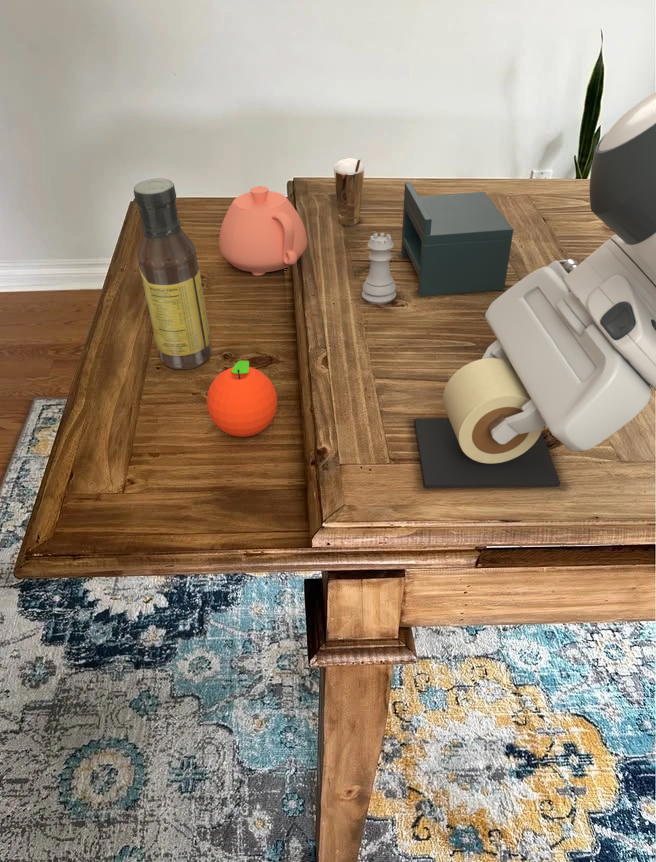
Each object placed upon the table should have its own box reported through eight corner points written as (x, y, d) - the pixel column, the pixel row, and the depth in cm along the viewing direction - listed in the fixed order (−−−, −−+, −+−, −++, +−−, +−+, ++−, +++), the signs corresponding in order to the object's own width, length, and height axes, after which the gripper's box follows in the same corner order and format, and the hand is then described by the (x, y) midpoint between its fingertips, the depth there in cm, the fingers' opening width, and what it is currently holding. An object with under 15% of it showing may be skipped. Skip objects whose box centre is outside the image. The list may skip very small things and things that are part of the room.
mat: (535, 420, 73) (536, 416, 73) (559, 486, 65) (560, 482, 65) (414, 422, 74) (414, 418, 73) (424, 488, 66) (424, 484, 66)
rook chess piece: (369, 287, 96) (370, 227, 91) (401, 292, 95) (404, 232, 89) (356, 302, 93) (356, 241, 88) (389, 308, 92) (391, 246, 86)
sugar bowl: (278, 236, 110) (273, 166, 103) (332, 268, 101) (331, 194, 94) (206, 258, 105) (196, 186, 98) (256, 294, 96) (249, 217, 89)
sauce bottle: (182, 338, 88) (153, 168, 75) (223, 351, 85) (201, 177, 72) (146, 363, 84) (110, 188, 71) (188, 378, 82) (159, 199, 68)
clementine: (219, 403, 78) (211, 344, 73) (284, 404, 77) (280, 345, 72) (205, 450, 72) (195, 389, 67) (275, 452, 71) (270, 391, 66)
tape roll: (511, 423, 71) (530, 356, 66) (532, 462, 67) (553, 394, 62) (436, 425, 71) (449, 358, 66) (452, 465, 66) (467, 396, 61)
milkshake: (345, 231, 110) (344, 162, 104) (329, 219, 114) (328, 152, 108) (371, 225, 112) (373, 156, 105) (355, 213, 115) (355, 147, 109)
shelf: (477, 248, 104) (486, 176, 97) (504, 290, 94) (516, 212, 87) (401, 254, 103) (404, 182, 97) (419, 296, 94) (425, 219, 87)
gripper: (548, 229, 66) (433, 333, 72) (650, 346, 51) (493, 466, 57) (586, 272, 69) (472, 368, 75) (692, 394, 54) (539, 502, 60)
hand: (482, 411), depth 66 cm, fingers closed on tape roll, 6 cm apart
